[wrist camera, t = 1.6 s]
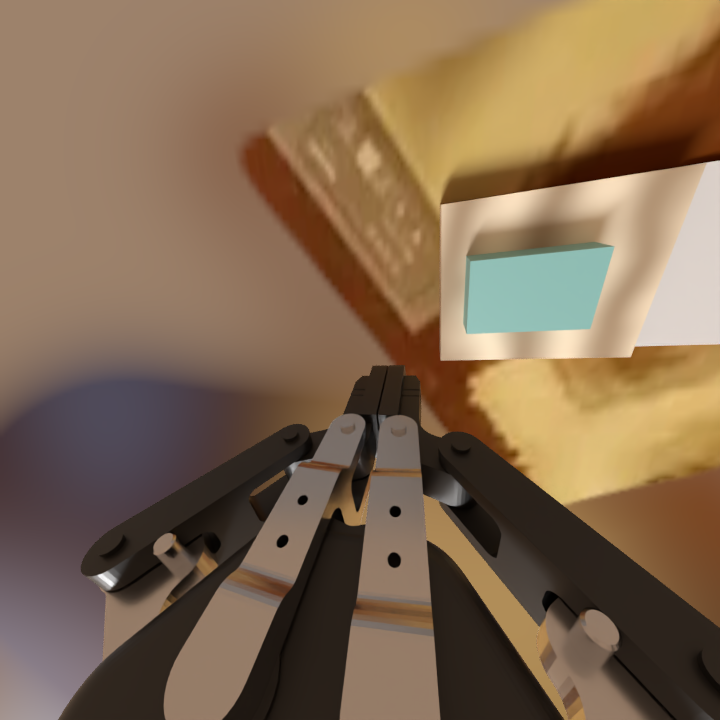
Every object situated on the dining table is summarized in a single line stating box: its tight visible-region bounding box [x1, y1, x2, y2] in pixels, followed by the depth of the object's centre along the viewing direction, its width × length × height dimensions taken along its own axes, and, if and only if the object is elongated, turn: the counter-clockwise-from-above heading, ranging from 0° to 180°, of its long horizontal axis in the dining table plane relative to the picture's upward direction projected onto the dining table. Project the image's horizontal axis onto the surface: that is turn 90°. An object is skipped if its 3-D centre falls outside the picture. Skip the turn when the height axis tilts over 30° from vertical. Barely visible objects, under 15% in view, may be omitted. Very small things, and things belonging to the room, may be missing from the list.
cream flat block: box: [440, 163, 707, 360], centre depth 23 cm, size 16×14×2 cm
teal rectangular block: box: [463, 242, 615, 334], centre depth 21 cm, size 9×6×2 cm, turn 98°
